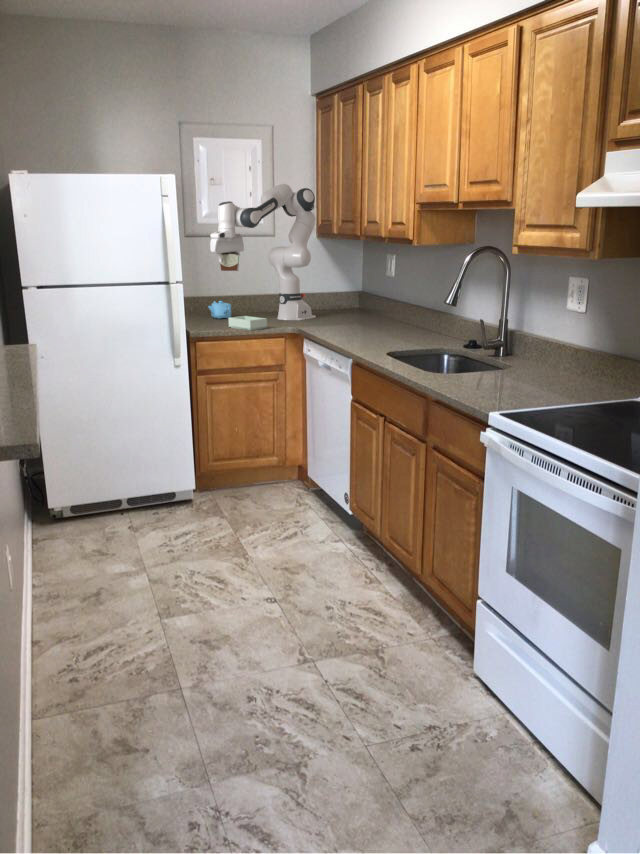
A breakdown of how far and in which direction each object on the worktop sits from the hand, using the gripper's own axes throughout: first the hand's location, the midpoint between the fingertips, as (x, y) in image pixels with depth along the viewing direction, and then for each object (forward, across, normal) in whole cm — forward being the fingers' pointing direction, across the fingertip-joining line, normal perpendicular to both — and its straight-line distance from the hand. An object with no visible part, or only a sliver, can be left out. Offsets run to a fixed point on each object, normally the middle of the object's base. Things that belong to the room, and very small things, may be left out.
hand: (228, 261), depth 401 cm
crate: (+32, +8, +23) cm, 40 cm away
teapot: (+32, -6, -16) cm, 37 cm away
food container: (+5, -2, 0) cm, 6 cm away
